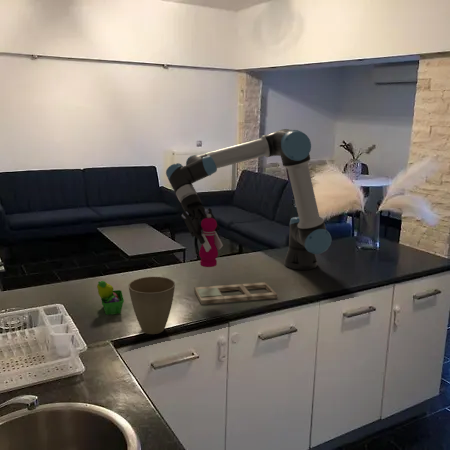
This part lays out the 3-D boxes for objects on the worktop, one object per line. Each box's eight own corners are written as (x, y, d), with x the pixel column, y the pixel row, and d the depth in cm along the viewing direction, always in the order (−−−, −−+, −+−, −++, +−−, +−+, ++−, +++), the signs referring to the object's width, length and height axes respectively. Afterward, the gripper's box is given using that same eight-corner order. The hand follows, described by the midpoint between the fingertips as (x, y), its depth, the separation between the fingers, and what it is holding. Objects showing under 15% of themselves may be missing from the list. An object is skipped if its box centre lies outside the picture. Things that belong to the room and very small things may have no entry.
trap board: (265, 285, 209) (265, 281, 208) (277, 298, 195) (277, 293, 195) (194, 291, 201) (194, 286, 201) (201, 304, 188) (201, 299, 188)
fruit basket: (124, 314, 178) (123, 284, 175) (98, 317, 176) (97, 286, 173) (121, 302, 189) (120, 274, 186) (97, 304, 186) (96, 276, 184)
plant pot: (132, 320, 173) (131, 276, 170) (176, 320, 174) (175, 276, 170) (127, 340, 159) (125, 292, 155) (174, 339, 160) (174, 292, 156)
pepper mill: (196, 263, 195) (196, 212, 190) (213, 261, 197) (214, 211, 193) (203, 268, 188) (203, 216, 184) (220, 266, 191) (221, 215, 186)
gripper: (203, 202, 205) (228, 249, 197) (165, 207, 194) (191, 258, 185) (211, 190, 200) (237, 239, 191) (173, 195, 188) (200, 247, 180)
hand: (214, 248), depth 188 cm, fingers closed on pepper mill, 5 cm apart
